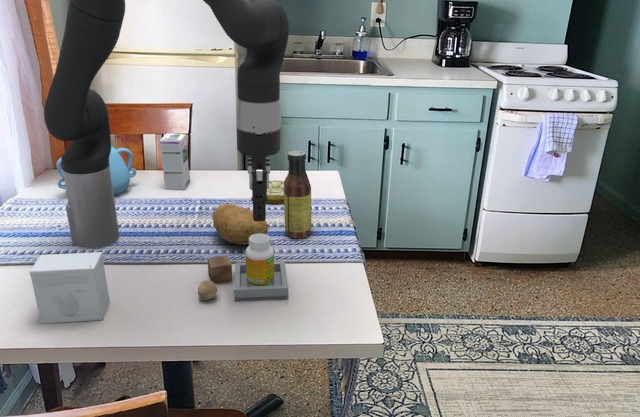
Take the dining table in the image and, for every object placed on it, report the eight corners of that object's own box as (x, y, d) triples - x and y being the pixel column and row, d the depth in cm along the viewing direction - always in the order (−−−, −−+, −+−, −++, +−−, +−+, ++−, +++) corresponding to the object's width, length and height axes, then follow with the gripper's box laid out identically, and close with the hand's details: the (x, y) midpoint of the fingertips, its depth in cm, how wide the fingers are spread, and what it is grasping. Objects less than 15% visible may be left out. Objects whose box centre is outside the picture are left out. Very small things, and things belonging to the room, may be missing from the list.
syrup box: (185, 190, 150) (181, 139, 144) (164, 189, 150) (159, 138, 144) (190, 182, 155) (186, 133, 149) (169, 182, 155) (165, 132, 149)
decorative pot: (105, 208, 138) (98, 157, 132) (53, 198, 142) (44, 148, 137) (143, 186, 152) (139, 139, 146) (95, 177, 156) (89, 131, 151)
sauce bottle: (316, 234, 128) (319, 153, 120) (297, 242, 124) (299, 159, 116) (297, 225, 132) (298, 146, 124) (278, 233, 128) (278, 152, 120)
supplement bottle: (269, 291, 104) (269, 246, 100) (242, 287, 105) (241, 242, 101) (277, 276, 109) (277, 233, 105) (251, 273, 110) (250, 230, 106)
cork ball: (197, 304, 101) (196, 287, 99) (198, 293, 104) (197, 277, 103) (217, 303, 101) (216, 286, 100) (218, 292, 104) (217, 276, 103)
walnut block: (212, 285, 107) (211, 267, 105) (208, 275, 110) (207, 258, 109) (232, 281, 108) (231, 264, 107) (227, 272, 112) (227, 254, 110)
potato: (250, 259, 116) (250, 225, 113) (203, 240, 123) (201, 208, 120) (279, 242, 124) (279, 210, 121) (232, 225, 131) (231, 194, 128)
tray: (234, 301, 102) (234, 290, 101) (235, 273, 111) (235, 262, 110) (288, 299, 103) (288, 288, 102) (284, 271, 112) (284, 261, 111)
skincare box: (110, 299, 101) (102, 250, 97) (103, 320, 95) (94, 269, 91) (50, 303, 100) (40, 252, 95) (39, 324, 94) (27, 272, 90)
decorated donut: (303, 200, 146) (303, 187, 145) (267, 208, 141) (267, 195, 139) (283, 187, 154) (283, 175, 152) (249, 194, 149) (249, 182, 147)
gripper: (237, 113, 99) (239, 195, 106) (235, 136, 87) (237, 228, 93) (278, 113, 100) (277, 194, 107) (283, 137, 87) (281, 227, 94)
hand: (258, 210), depth 100 cm, fingers open, 8 cm apart
